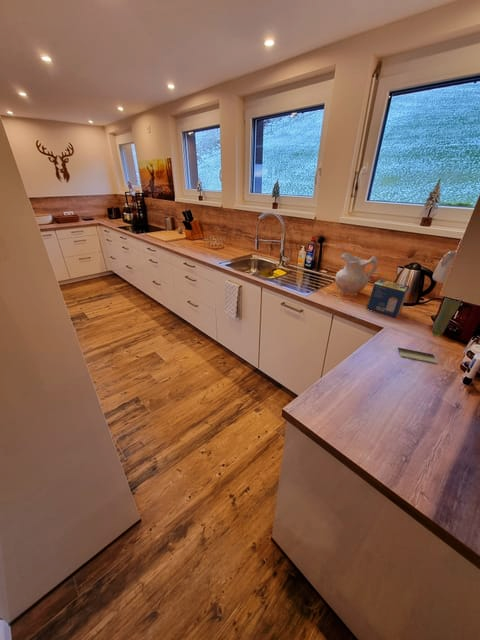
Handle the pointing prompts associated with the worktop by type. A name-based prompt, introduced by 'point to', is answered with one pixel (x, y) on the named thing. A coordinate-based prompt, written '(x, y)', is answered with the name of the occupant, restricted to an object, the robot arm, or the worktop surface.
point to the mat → (417, 355)
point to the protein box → (387, 298)
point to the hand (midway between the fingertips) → (455, 294)
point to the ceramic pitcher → (354, 274)
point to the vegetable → (445, 316)
